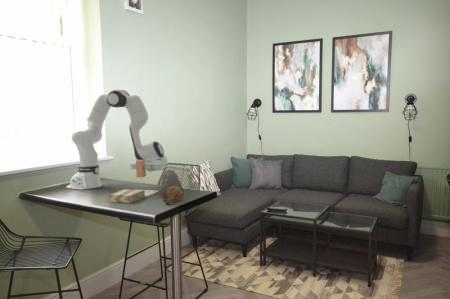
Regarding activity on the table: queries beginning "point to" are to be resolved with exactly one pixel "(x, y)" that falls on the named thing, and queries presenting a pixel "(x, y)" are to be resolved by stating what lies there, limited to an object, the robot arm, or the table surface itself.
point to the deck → (127, 196)
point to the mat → (150, 192)
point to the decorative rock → (170, 180)
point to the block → (140, 168)
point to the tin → (172, 194)
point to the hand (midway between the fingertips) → (140, 167)
